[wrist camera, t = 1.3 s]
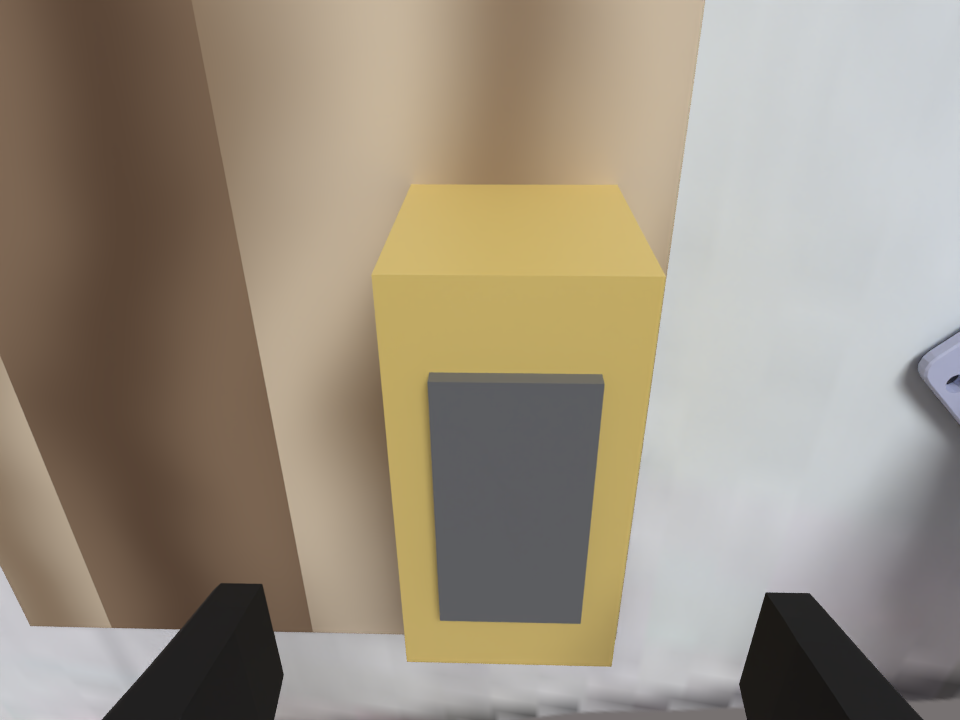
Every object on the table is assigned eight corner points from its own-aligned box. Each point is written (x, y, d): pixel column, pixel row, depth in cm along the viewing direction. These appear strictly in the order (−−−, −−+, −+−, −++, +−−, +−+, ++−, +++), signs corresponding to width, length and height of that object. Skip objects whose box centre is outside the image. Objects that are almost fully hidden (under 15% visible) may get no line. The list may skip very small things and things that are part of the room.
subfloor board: (714, -130, 12) (724, -135, 12) (612, 623, 22) (615, 638, 22) (-308, -118, 13) (-342, -122, 12) (41, 611, 23) (30, 625, 22)
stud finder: (617, 184, 14) (669, 284, 10) (587, 506, 19) (613, 679, 14) (410, 184, 15) (368, 282, 10) (428, 504, 19) (405, 674, 14)
